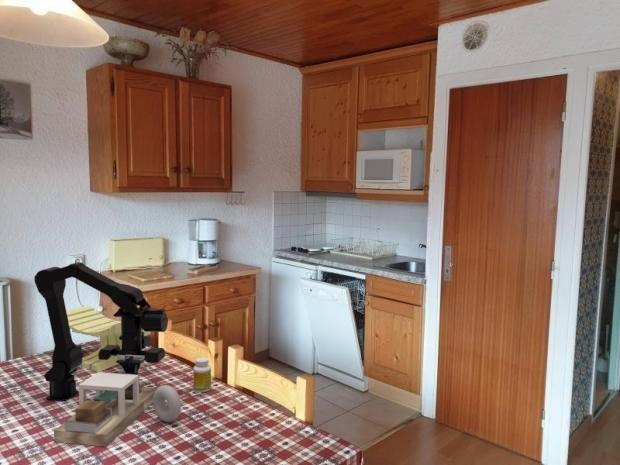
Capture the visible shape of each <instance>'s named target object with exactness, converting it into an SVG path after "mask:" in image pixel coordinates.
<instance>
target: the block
mask: <svg viewBox="0 0 620 465" xmlns="http://www.w3.org/2000/svg"><path fill="white" fill-rule="evenodd" d="M74 411H75V414H76V421H80V422H92V423H96V425H97V424H98V423H99V422H100V421H102V420H103V419H104V418H105V401H94V400H91V399H90V400H89V399H86V401H85V402H84V403H82V404H81V405H80V406H79V405H78V406H77V407H75V410H74Z"/></svg>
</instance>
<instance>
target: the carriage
mask: <svg viewBox="0 0 620 465" xmlns="http://www.w3.org/2000/svg"><path fill="white" fill-rule="evenodd" d="M117 374H131V375H139V376H140V372H138V373H136V372H125V371H119V372H117ZM125 390H130V391H133V383H132V384H131V385H130V386H129V387H127V388H126V389H125ZM117 396H118V391H109V390H103V391H102V394H100V395H99V396H98V397H96V396H95V398H94V399H93V401H105V406H106V405H107V404H108V403H109V402H111V401H112V400H113V399H114V398H116V397H117ZM110 419H112V408H107V407H105V418H104V419H103V420H102V421H100V422H99V423H98V424H97V425H96V423H92V422H80V421H76V418H75V419H74V420H72V421H68V420H69V419H66V420H65V421H64V422H63V423H64V428H65V430H66V431H78V432H90V433H95V432H97V431H98V430H99V429H100V428H101V427H102V426H103V425H105V424H106V423H107V422H108V421H109V420H110Z"/></svg>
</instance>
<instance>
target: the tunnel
mask: <svg viewBox="0 0 620 465" xmlns="http://www.w3.org/2000/svg"><path fill="white" fill-rule="evenodd" d="M132 383H133V404H138V403H139V386H140V374H139V375H131V374H118V373H115V372H113V373H112V372H102V371H99V372H98V371H96V373H95V374H93V375H92V376H90V377H88V378H87V379H85V380H84V381H82V382H80V383H79V384H78V397H79V398H78V399H79V401H78V403H79V405H78V406H80V405H81V404H82V403H84V402H85V401H86V400H87V391H86V390H95V398H96V397H98V396H99V395H100V394H102V393H103V391H106V390H109V391H118V407H119V417H123V416H125V389H126V388H127V387H129V386H130V385H131V384H132Z"/></svg>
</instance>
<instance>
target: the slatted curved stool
mask: <svg viewBox="0 0 620 465" xmlns="http://www.w3.org/2000/svg"><path fill="white" fill-rule="evenodd" d="M66 312H67V317H68V322H69V327H70V330H71V333H74V334H81V335H85V336H90V337H94V338H100V341H101V345H100V347H99V348H98V349H97V350H95V351H94V352H92V353H90V354H88V355H86V356H84V357H83V358H82V363H81V365H80V366H79V367H78V368H82V369H86V370H91V371H95V372H102V371H104V370H107V369H109V368H111V367H114V366H115V367H116V366H117V365H120V364H119V363H117V362H116V361H117V360H118V356H113V355H111V357H110V358H109V359H108V360H99V359H98V353H99V351H100V350H101V349H102V348H104V347H106V346H107V345H119V346H120V349H122V340H119V336H121V320H120V321H118V320H114V319H111V318H109V317H106V315H103V314H102V313H101V312H100V311H98V310H96V309H95V308H94V307H91V306H88V305H85V306H80V307H77V308H76V307H75V308H72V309H69V310H66ZM142 332H144V336H149V335H151V333H152V332H145V331H144V330H142Z"/></svg>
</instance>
